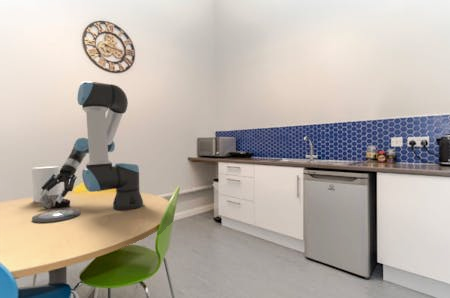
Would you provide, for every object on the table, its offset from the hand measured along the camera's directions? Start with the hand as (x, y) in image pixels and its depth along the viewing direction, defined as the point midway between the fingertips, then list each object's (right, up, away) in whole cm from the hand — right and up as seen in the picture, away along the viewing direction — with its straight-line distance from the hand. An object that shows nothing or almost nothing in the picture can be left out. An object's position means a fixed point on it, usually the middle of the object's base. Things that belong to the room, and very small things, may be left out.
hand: (49, 201), depth 136 cm
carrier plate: (+13, -4, -14) cm, 20 cm away
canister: (-17, -4, +23) cm, 29 cm away
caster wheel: (+2, -4, +5) cm, 6 cm away
